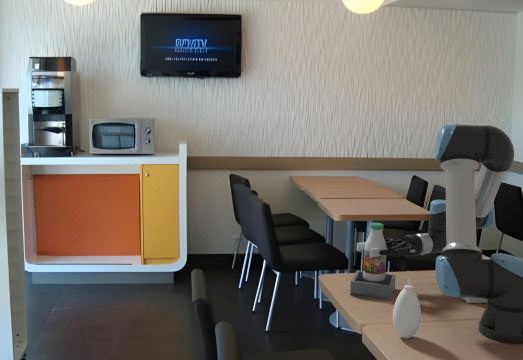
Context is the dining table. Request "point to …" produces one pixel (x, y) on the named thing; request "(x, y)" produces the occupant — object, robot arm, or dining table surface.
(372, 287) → the box
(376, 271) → the milk bottle
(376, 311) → the dining table surface
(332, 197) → the dining table surface
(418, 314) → the white squeeze bottle
